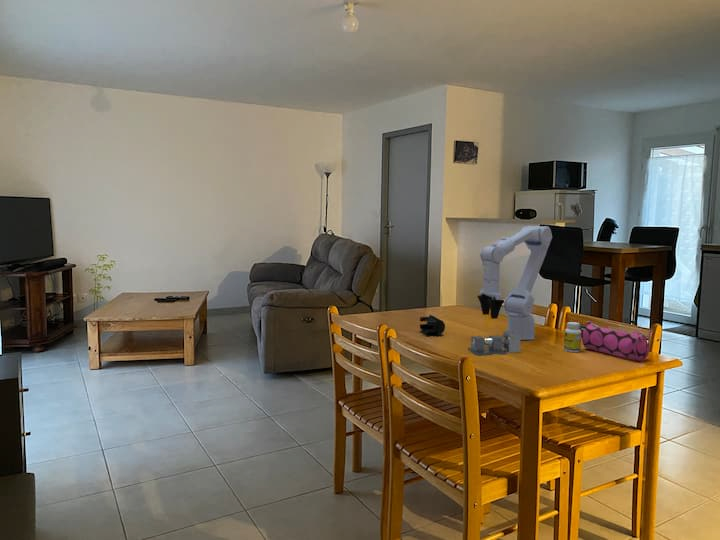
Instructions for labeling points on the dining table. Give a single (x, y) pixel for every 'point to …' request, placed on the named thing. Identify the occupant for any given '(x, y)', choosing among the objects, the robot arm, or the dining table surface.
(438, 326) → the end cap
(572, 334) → the supplement bottle
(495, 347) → the shaft stand
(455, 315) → the dining table surface
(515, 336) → the collar
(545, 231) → the robot arm
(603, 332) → the pencil case
